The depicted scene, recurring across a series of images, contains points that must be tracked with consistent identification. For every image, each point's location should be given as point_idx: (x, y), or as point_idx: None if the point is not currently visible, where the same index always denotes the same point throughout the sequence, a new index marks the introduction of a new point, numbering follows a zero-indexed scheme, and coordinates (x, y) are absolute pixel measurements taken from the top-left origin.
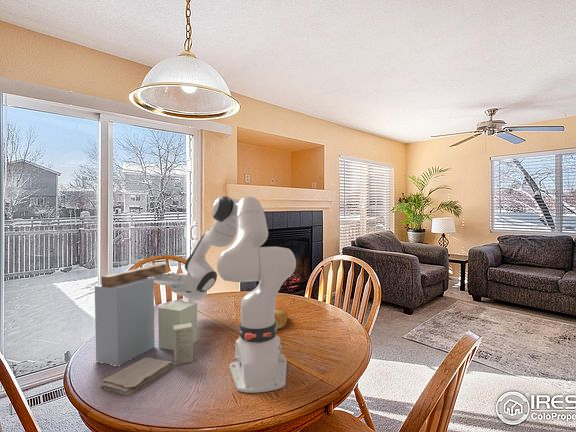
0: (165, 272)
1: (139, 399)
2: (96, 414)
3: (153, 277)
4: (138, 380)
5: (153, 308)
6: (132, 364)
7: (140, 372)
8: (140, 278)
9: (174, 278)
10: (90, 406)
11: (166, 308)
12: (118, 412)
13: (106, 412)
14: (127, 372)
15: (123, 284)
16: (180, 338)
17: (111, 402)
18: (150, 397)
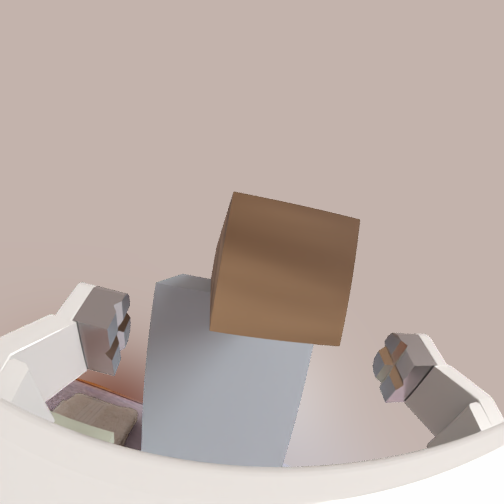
0: (210, 323)
1: (58, 393)
2: (99, 385)
3: (440, 431)
4: (71, 399)
5: (142, 441)
6: (114, 437)
7: (80, 416)
8: (211, 283)
9: (57, 382)
10: (117, 394)
11: (66, 420)
12: (74, 383)
13: (89, 385)
14: (105, 420)
15: (202, 280)
16: None
17: (94, 395)
18: None
